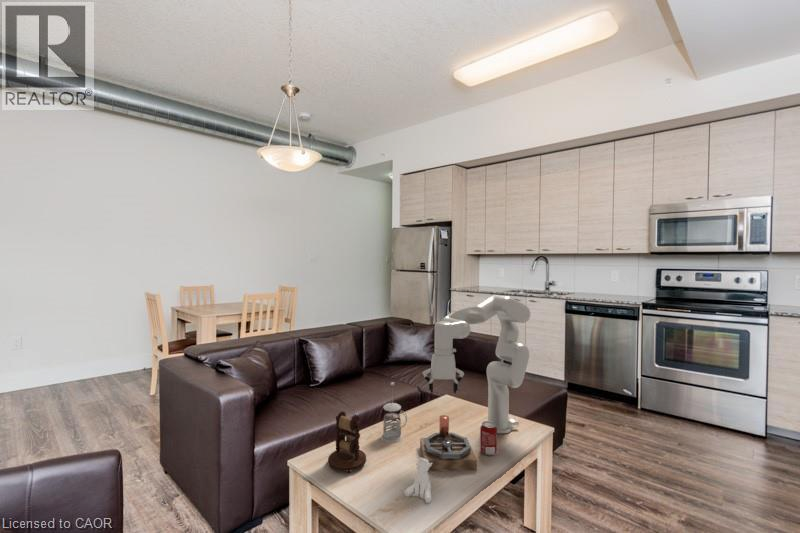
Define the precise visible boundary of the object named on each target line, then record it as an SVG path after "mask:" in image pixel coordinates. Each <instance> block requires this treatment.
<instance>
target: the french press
mask: <svg viewBox="0 0 800 533" xmlns="http://www.w3.org/2000/svg"><path fill="white" fill-rule="evenodd" d="M390 386H392V388H391V397H392V398H391V402H388V403H386V404H384V405H383V410H384V411H386V412H388V413H385V414H384V416H383V424H382V425H383V428H382V430H383V434H382V435H381V436H380V438H382V439H383V440H384V441H383V440H382V439H381V440H382V441H383V442H385V441H386V443H391V442H394V443H398V442H400V440H401V439H402V436H403V435H402V428H403V429H404V427H405V426H406V425H407V422H408V416H407V413H406V412H405V411H404V410H401V409H402V406H401V404H398V403H397V402H393V396H394V393H393V390H394V389H393V388H394V387H393V386H395V382H393V381H391V382H390ZM398 411H399V413H396V412H398ZM401 413H402V415H403V416H404V417H405V423H404V424H401ZM402 440H403V439H402ZM402 440H401V441H402Z"/></svg>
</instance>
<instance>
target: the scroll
mask: <svg viewBox="0 0 800 533" xmlns="http://www.w3.org/2000/svg"><path fill="white" fill-rule="evenodd" d="M335 420H336V421H335V423H336V424H335V429H334V431H335V434H336V435H335V450H334V451H332V452H331V453H330V454H329V456H328V459H327V464H328V467H330V468H332V469H333V470H334V471H335V470H337V471H341V472H347V473H348V474H351V472H352V471H354V470H355V471H356V470H357V469H360V468H361V467H363V466H364V465H365V464H366V462H367V454H366V453H365V452H364V451H362V450H361V449H360V448H361V447H360V445H359V444H360V441H359V440H360V438H361V433H360V429H359V428H360V424H361V422H360V417H359V416H358V415H357V414H355V415H353V416H352V417H349V416H348V417H347V416H346V412H345V411H340V412H339V413H338V414H337V415H336V416H335Z"/></svg>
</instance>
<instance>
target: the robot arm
mask: <svg viewBox="0 0 800 533" xmlns="http://www.w3.org/2000/svg"><path fill="white" fill-rule="evenodd" d="M494 316H497V318H498V321H499V323H500V332H499V337H498V340H497V343H496V347H495V356H496V357H497V358H499V359H500V360H502V361H503V362H502V361H497V360H495V361H494V360H493V361H491V362H489V363H488V365H487V367H486V378H487V386H488V387H487V388H488V391H487V392H488V395H487V396H488V400H487V421H490V422H493V423H495V426H496V428H497V434H502V435H503V434H504V435H505V434H508V433H510V432H511V431H512V429H513V427H512V426H519V425H520V424H519V420H515V419H514V418H511V419H510V418H509V410H510V408H509V404H510V402H509V401H510V390H509V387H510V388H513V389H516V388H519V387H520V386H521V385H522V384H523V381H524V378H525V375H526V371H527V367H528V364H529V360H530V350H529V348H528V346H527V345H526V344H524V343H521V342H518V339H519V335H520V330H519V327H518V324H517V323H519V324H524V323H525V324H526V323H527V322H528V321H529V320H530V318H531V311H530V308H529V306H527V305H526V304H525V303H523V302H521V301H519V300H517V299H515V298H513V297H512V296H506V295H497V294H492V295H489V296H488V297H486V298H484V299H483V300H481V301H480V302H477V303H476V304H475V305H473V306H472V305H471V306H470V307H469V306H468V307H466V308H465V307H464V308H461V309H458V310H455V311H453V312H451V313H449V314H448V315H446V316H445V317H443V318H442V320H441V321H437V322H435V324H434V353H432V355H431V361H430V362H431V364H430V367H429V368H428V369H425V370H424V371H422V376H423V377H424V379H425V380H426V381H427V382H428V391H430V393H431V394H432V393H434V391H433V390H434V383H433V382H434V381H435V380H453V385H452V387H453V388H452V389H453V390H452V391H453V393H454V394H456V393H457V391H458V384H459V382H461V381H462V380H463V377H464V375H465V373H464V371H462V370H460V369H459V368H457V367H456V359H455V358H456V357H455V354H454V353H456V352H457V349H456V348H454V347H453V345H454V344H453V342H454V340H453V339H461V340H462V339H465V338H467V337H469V335H470V334H471V325H477V324H478V325H480V324H484V323H485V322H486V321H488V320H490V319H491V318H493V317H494ZM504 361H507V362H511V364H508V363H506V362H504ZM457 373H458V374H459V375H458V376H457V375H456V374H457ZM427 374H430V377H429V376H428V375H427Z"/></svg>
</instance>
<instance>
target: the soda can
mask: <svg viewBox="0 0 800 533" xmlns="http://www.w3.org/2000/svg"><path fill="white" fill-rule="evenodd" d="M479 430H480V431H479V451H480V452H481V453H482V454H483V455H485V456H493V455H495V454H496V453H497V451H498V450H497V449H498V448H497V445H498V444H497V443H498V439H497V438H498V433H497V428H496V426H495V423H493V422H490V421H488V420H486V421H485V420H484V421H482V422H481V425H480V428H479Z"/></svg>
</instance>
